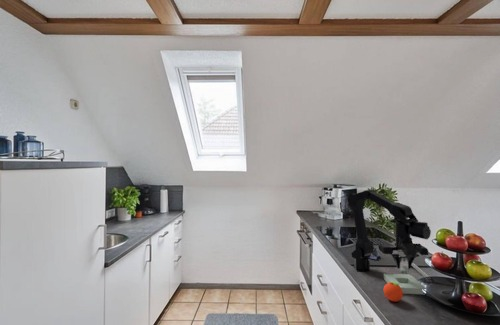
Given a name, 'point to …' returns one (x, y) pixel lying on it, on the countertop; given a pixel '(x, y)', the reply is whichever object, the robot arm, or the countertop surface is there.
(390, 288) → the clementine
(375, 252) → the snack package
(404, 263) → the bushing
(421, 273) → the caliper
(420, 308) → the countertop surface
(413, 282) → the jig
